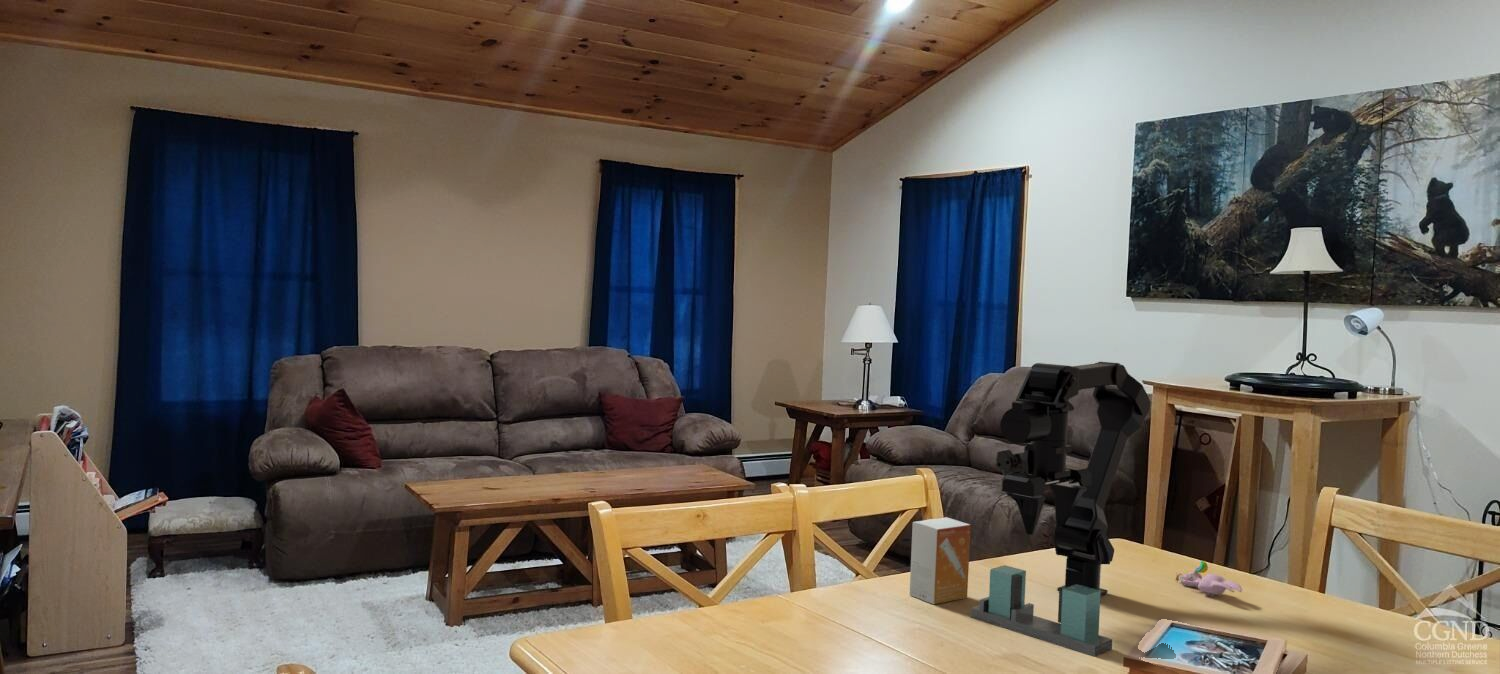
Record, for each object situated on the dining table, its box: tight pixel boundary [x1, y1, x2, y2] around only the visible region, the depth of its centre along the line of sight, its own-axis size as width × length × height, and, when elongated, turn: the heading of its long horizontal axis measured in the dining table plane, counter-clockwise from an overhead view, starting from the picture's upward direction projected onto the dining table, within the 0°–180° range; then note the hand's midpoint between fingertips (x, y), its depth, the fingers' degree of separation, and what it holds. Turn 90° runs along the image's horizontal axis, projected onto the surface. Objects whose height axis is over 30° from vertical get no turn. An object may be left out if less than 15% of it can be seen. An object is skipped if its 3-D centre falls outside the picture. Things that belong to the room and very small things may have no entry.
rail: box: [970, 584, 1113, 657], centre depth 159 cm, size 5×22×8 cm, turn 42°
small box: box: [909, 516, 972, 605], centre depth 176 cm, size 8×6×13 cm
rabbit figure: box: [1174, 560, 1243, 597], centre depth 183 cm, size 6×6×15 cm
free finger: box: [988, 564, 1027, 619], centre depth 164 cm, size 4×5×7 cm
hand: (1045, 530), depth 172 cm, fingers open, 9 cm apart
